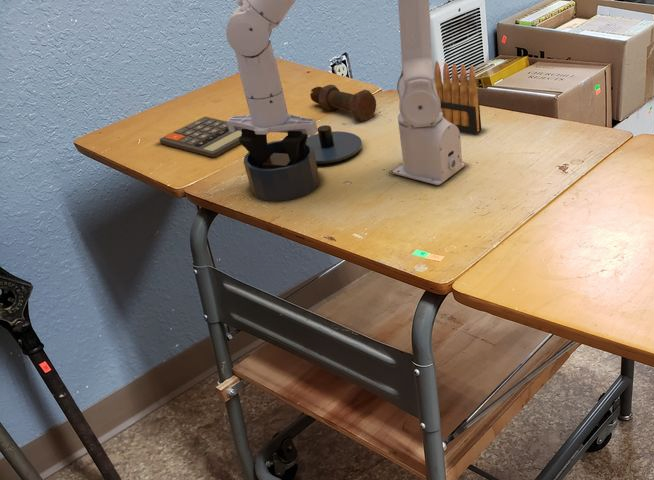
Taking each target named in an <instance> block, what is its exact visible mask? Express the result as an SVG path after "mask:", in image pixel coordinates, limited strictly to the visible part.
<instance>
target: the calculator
mask: <svg viewBox="0 0 654 480" xmlns="http://www.w3.org/2000/svg"><path fill="white" fill-rule="evenodd" d="M241 134H242V132H241V131H236V132H229V129H228V125H227V120H222V119H217V118H213V117H210V116H209V117H208V116H203V117H201V118H198V119H197V120H194V121H193V122H191V123H189V124H187V125H185V126H183V127H181V128H179V129H177V130H174V131H173V132H171V133H169V134H167V135H164V136H163V137H160V138H159V142H160V144H162V145H166V146H169V147H173V148H177V149H180V150H184V151H188V152H192V153H195V154H199V155H202V156H207V157H210V158H216V157H218V156H220V155H223V154H224V153H226V152H227V151H229V150H232V149H233V148H235V147H237V146H239V145H241V144H240V141H239V138H240V137H241V136H242V135H241Z"/></svg>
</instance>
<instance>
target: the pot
mask: <svg viewBox="0 0 654 480" xmlns="http://www.w3.org/2000/svg"><path fill="white" fill-rule="evenodd" d="M282 140H283V139H280V140H274V141H269V142H267V146H268V152H269V156H271V155H272V154H273V153H284V154H287V151H286V149H285V147H284V145H283V144H282ZM243 166H244V169H245V173H246V177H247V180H248V183H249V187H250V190H251V192H252V194H253V195H254V196H255V197H256V198H258V199H261V200H263V201H268V202H282V201H283V202H284V201H290V200H294V199H297V198H301V197H303V196H305V195H307V194H310V193H311V192H313V191H314V190H315V189H316V188H317V187H318V185H319V183H320V174H319V169H318V164H316V159H315V154H314V149H313V146H311V145H310V144H309V143H307V142H306V145H305V149H304V157H303V160H302V161H300V162H298V163H296V164H293V165H290V166H287V167H282V168H275V169H260V168H259V166H258V164H257V163H256V161H255V159H254V158H253V157H252V155H251V154H250V153H249V152H247V153H246V154H245V155H244V156H243Z"/></svg>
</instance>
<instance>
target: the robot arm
mask: <svg viewBox="0 0 654 480" xmlns="http://www.w3.org/2000/svg"><path fill="white" fill-rule="evenodd" d="M296 1H297V0H237V1H236V4H237V5H238V7H237V8H236V9H234V11H233V13H231V16H230V18H228V19H229V20H228V22H227V25H226V30H225V36H226V40H227V42H228V44H229V46H230V48H231V49H232V50H233V51H234V55H235V58H236V62H237V69H238V73H239V77H240V81H241V85H242V88H243V89H242V90H243V92H244V97H245V100H246V105H247V108H248V112H249V114H245V115H244V114H243V115H232V116H230V117H229V118H227V120H226V122H227V125H228V129H229V132H236V131H241V132H242V134H241V135H242V136H241V137H240V138H239V141H240V144H239V145H241V146H242V147H243V148H245V149H246V151H248V152H249V153H250V154H251V155H252V157H253V158H254V159H255V161H256V163H257V164H258V166H259V168H260V169H264V168H263V163H264V162H265V161H266V160H267V159H268V158H269V157H270V156H269V152H268V146H267V143H268V137H267V136H268V134H269V133H280V134H281V133H282V134H283V133H284V134H287V135H286V136H285V137H284V138H282V139H281V140H282V144H283V145H284V147H285V149H286V151H287V154H288V156H289V159H290V163H291V165H293V164H296V163H298V162H300V161H302V160H303V157H304V149H305V145H306V141H307V138H308V137H309V136H313V135H315V134H317V133H318V125H317V120H316V118H309V117H304V116H298V115H294V114H290V113H289V112H288V108H287V103H286V98H285V94H284V90H283V85H282V80H281V76H280V71H279V66H278V62H277V59H276V57H275V54H274V49H273V45H272V40H270V37H271V35H272V33H273V29H275V28H278V26H279V25H280V24H281V23H282V21H283V20H284V18H285V17H286V15H287V14H288V12H289V11H290V9H291V8H292V7H293V5H294V4H295V2H296ZM397 4H398V5H397V7H398V9H397V10H398V20H399V21H398V22H399V25H398V26H399V37H400V50H401V51H400V55H401V58H400V59H401V71H400V75H399V76H398V79H397V83H396V84H397V85H396V90H397V94H398V101H399V106H398V107H399V113H398V114H397V124H398V132H399V139H400V148H401V157H402V164H401V165H399V166H398V167H396V168H394V169H393V170H392V173H393V174H394V175H396V176H400V177H401V176H402V177H403V178H408V179H412V180H416V181H419V182H423V183H427V184H430V185H436V186H440V185H442V184H443V183H444V182H445V181H447V180H448V179H449V178H451V177H452V176H454V175H455V174H456V173H458V172H459V171H460V170H462V169H463V168H464V167H465V166H466V165H465V163H464V162H463V159H462V144H461V143H462V141H461V132H459V129H458V127H457V126H456V125H455V124H452V123H450V122H448V121H447V120H446V119H445V118H444V117H443V113H442V110H441V109H440V108H441V103H440V99H439V97H438V94H437V90H436V82H435V78H434V77H435V76H434V73H433V63H432V60H433V59H432V42H431V41H432V39H431V17H430V16H431V15H430V14H431V12H430V10H431V9H430V0H397ZM248 152H247V153H248Z"/></svg>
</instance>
